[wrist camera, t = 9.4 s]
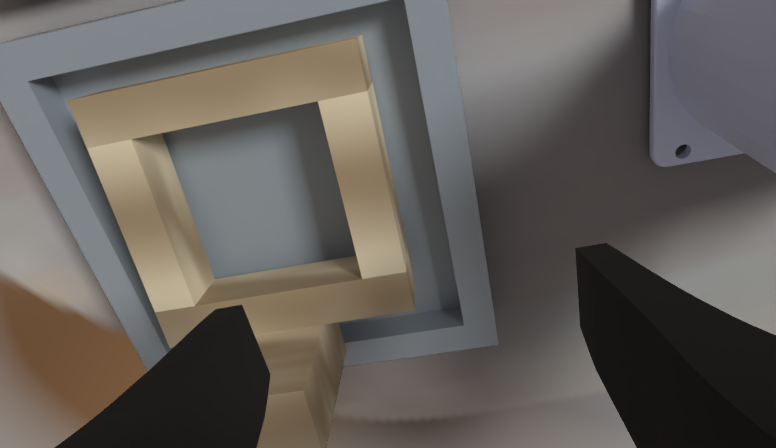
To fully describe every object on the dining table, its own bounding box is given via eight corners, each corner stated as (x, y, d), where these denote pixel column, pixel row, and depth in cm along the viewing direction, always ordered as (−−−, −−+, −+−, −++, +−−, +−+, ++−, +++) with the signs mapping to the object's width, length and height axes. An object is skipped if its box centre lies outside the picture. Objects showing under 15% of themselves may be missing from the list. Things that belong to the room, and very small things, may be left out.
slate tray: (435, -60, 17) (438, -59, 15) (492, 313, 23) (498, 344, 22) (13, 39, 19) (-28, 50, 17) (176, 360, 25) (159, 392, 23)
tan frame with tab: (426, 338, 21) (429, 443, 16) (210, 370, 23) (150, 477, 17) (362, 34, 17) (338, 47, 12) (102, 90, 18) (-19, 124, 13)
